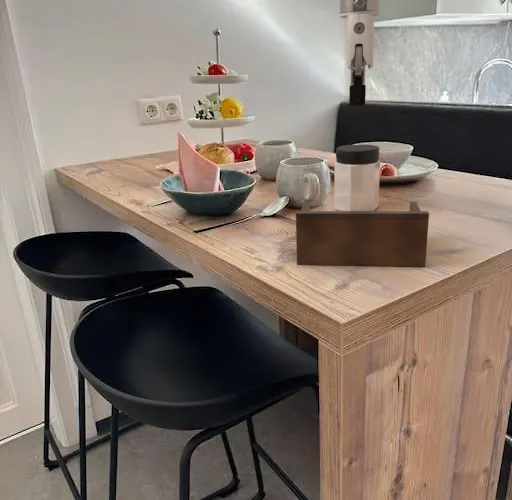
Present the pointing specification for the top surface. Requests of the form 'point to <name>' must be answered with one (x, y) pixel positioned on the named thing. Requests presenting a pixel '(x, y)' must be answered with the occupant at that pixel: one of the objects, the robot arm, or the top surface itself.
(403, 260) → the brown wooden tray
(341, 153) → the jar
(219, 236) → the top surface
